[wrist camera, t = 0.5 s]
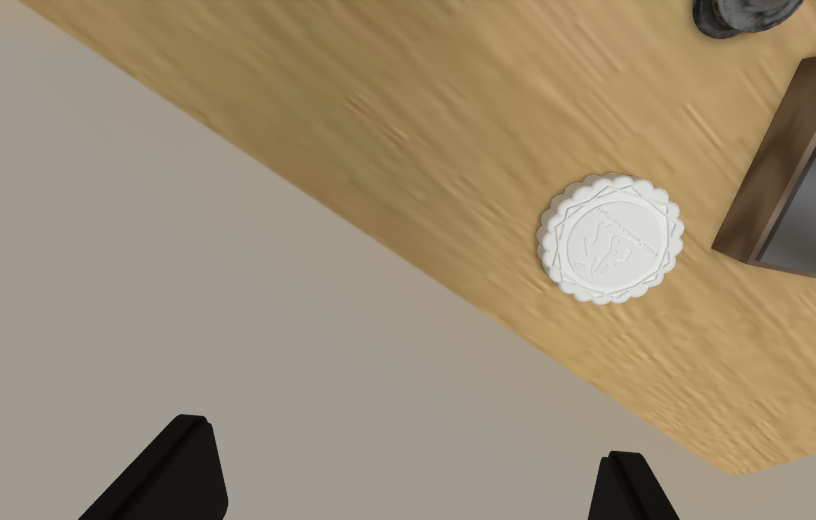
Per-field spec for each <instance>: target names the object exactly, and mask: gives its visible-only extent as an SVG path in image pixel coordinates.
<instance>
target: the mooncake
mask: <svg viewBox="0 0 816 520" xmlns="http://www.w3.org/2000/svg"><path fill="white" fill-rule="evenodd" d="M679 213H680V210H679V207H678V205H677V204H676V203H674V202H672V201H669V195H668V193H667V192H666V190H664V189H662V188H659V187H655V186H653V185H652V183H651V182H650V181H648V180H646V179H642V178H639V177H635V176H625V175H622V174H618V173H613V172H611V173H607V174H605V175H603V176H602V177H601V176H598V175H590V176H587V177H586V178H585V179H584V180H583V181H582V182H581V183H579V182H574V183H571V184H570V185H568V186H567V187H566V189H565V191H564V194H559V195H557V196H555V197H554V198H553V199H552V201H551V203H550V209H548V210H546V211H545V212H544V213H543V214H542V216H541V224H542V226H541V227H539V229H538V230H537V232H536V238H537V240H538V242H539V245H538V247H537V254H538V256H539V257H540V259H541V260H542V266H543V268H544V270H545V272H546V273H547V275H548V276H549V278H550V279H551V280H552V281H554V282H556V284H557V285H558V287H559V288H560V290H561V291H562V292H564V293H566V294H572V295H573V296H574V297H575V298H576V299H577V300H579V301H582V302H586V301H589V300H591V301H592V302H593V303H595V304H597V305H604V304H606V303H608V302H609V301H611V302H613V303H623V302H625V301H627V300H628V299H629V297H640V296H642V295H644V294H645V293H646V292H647V290H648V287H654V286H657V285H659V284H660V283H661V282H662V280H663V278H664V273H667V272H669V271H670V270H672V269H673V268H674V266H675V264H676V258H675V256H676V255H677V254H679V253H680V252H681V250H682V248H683V241H682V239H681V238H680V236H681V235H682V234H683V232H684V223H683V222H682V220H680V219H679V218H678V216H679Z"/></svg>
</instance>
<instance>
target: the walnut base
mask: <svg viewBox="0 0 816 520" xmlns="http://www.w3.org/2000/svg"><path fill="white" fill-rule="evenodd" d="M711 248H712V249H714V250H717V251H719V252H721V253H723V254H725V255H727V256H730V257H732V258H734V259H736V260H738V261H740V262H743V263H745V264H748V265H753V266H758V267H763V268H768V269H773V270H778V271H783V272H788V273H792V274H797V275H802V276H807V277H812V278H816V57H811V58H806V59H802V61H801V63H800V65H799V67H798V69H797V71H796V73H795V75H794V77H793V80H792V82H791V84H790V86H789V88H788V90H787V92H786V94H785V96H784V98H783V100H782V102H781V104H780V106H779V109H778V111H777V113H776V115H775V117H774V119H773V121H772V123H771V125H770V127H769V129H768V131H767V133H766V135H765V137H764V140H763V142H762V144H761V146H760V148H759V150H758V152H757V154H756V156H755V158H754V160H753V162H752V164H751V166H750V169H749V171H748V173H747V175H746V177H745V179H744V181H743V183H742V185H741V187H740V189H739V191H738V193H737V195H736V198H735V200H734V202H733V204H732V206H731V208H730V210H729V212H728V214H727V216H726V218H725V220H724V222H723V224H722V227H721V229H720V231H719V233H718V235H717V237H716V239H715V241H714V243H713V245H712V247H711Z"/></svg>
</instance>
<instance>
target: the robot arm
mask: <svg viewBox="0 0 816 520" xmlns="http://www.w3.org/2000/svg"><path fill="white" fill-rule="evenodd" d="M227 507H228V496H227V491H226V487H225V482H224V478H223V474H222V469H221V464H220V460H219V456H218V450H217V446H216V441H215V437H214V433H213V428H212V425H211V424H210V423H208V422H207V419H206V418H205V417H204V416H197V415H184V414H180V415H178V416H176V417H175V418H174V419H173V420H172V421H171V422H170V423H169V424H168V425H167V426H166V427H165V428H164V429H163V431H162V432H161V433H160V434H159V435H158V436H157V437H156V438H155V439H154V440H153V441H152V442H151V443H150V444H149V445H148V446H147V447H146V449H144V450H143V452H142V453H141V454H140V455H139V456H138V457H137V458H136V459H135V460H134V461H133V462H132V463H131V464H130V465H129V466H128V467H127V468H126V469H125V470H124V472H123V473H122V474H121V475H120V476H119V477H118V478H117V479H116V480H115V481H114V482H113V483H112V484H111V485H110V486H109V487H108V488H107V489H106V490H105V492H104V493H103V494H102V495H101V496H100V497H99V498H98V499H97V500H96V501H95V502H94V503H93V504H92V505H91V506H90V507H89V508H88V509H87V510H86V512H85V513H84V514H83V515H82V516H81V517H80V518H79V519H78V520H223V518H224V516H225V514H226V511H227ZM588 520H680V519H679V517H678V516H677V514H676V512H675V510H674V509H673V507H672V505H671V503H670V502H669V500H668V498H667V497H666V495H665V493H664V491H663V489H662V488H661V486H660V484H659V483H658V481H657V479H656V478H655V476H654V474H653V472H652V470H651V469H650V467H649V465H648V464H647V462H646V460H645V458H644V457H643V456H642V455H641V454H640V453H634V452H622V451H611V452H610V453H609V456H608V457H602V459H601V462H600V466H599V471H598V475H597V480H596V484H595V489H594V493H593V498H592V502H591V507H590V511H589V516H588Z"/></svg>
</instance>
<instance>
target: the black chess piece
mask: <svg viewBox="0 0 816 520" xmlns="http://www.w3.org/2000/svg"><path fill="white" fill-rule="evenodd" d="M803 1H804V0H694V2H693V17H694V21H695V24H696V25H697V27H698V29H699V30H700V31H701V32H702V33H704V34H705V35H706V36H709V37H712V38H718V39H724V38H729V37H733V36H736V35H738V34H740V33H742V32H750V33H756V32H760V31H765V30H768V29H770V28H773V27H775V26H777V25H779V24H781V23H782V22H783V21H785V20H786V19H787V18H789V17H790V16H791V15H792V14H793V13H794V12H795V11H796V10H797V9H798V8H799V7H800V6H801V4H802V3H803Z"/></svg>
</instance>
